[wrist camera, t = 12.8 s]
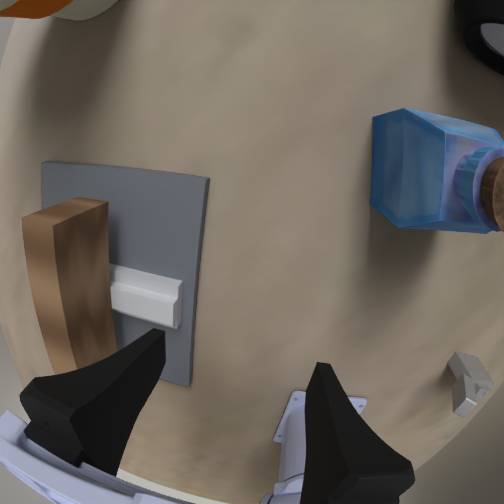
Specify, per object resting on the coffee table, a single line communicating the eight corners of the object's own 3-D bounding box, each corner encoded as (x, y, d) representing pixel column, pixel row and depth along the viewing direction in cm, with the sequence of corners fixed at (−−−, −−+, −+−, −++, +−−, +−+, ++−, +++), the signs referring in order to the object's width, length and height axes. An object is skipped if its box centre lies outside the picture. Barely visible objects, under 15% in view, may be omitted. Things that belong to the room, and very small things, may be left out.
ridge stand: (191, 380, 28) (183, 401, 25) (66, 337, 29) (52, 351, 26) (209, 177, 21) (197, 183, 18) (48, 161, 22) (26, 165, 19)
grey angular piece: (478, 357, 23) (509, 407, 16) (469, 369, 24) (497, 420, 16) (437, 344, 23) (468, 403, 16) (427, 358, 24) (454, 418, 16)
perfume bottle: (370, 203, 20) (446, 274, 9) (372, 117, 18) (462, 94, 7) (443, 209, 19) (545, 274, 8) (447, 128, 17) (563, 134, 6)
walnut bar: (119, 368, 25) (90, 411, 19) (94, 358, 25) (63, 397, 20) (108, 201, 19) (52, 225, 14) (77, 196, 19) (21, 217, 14)
